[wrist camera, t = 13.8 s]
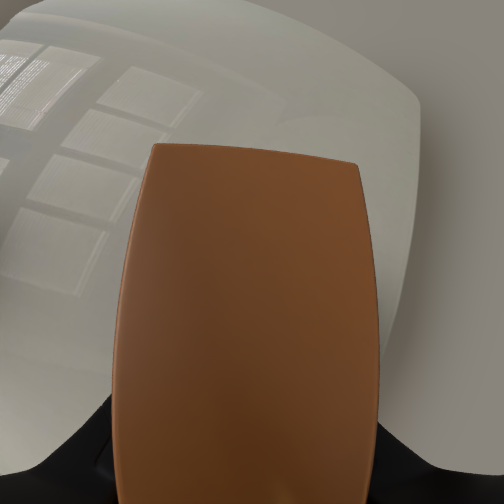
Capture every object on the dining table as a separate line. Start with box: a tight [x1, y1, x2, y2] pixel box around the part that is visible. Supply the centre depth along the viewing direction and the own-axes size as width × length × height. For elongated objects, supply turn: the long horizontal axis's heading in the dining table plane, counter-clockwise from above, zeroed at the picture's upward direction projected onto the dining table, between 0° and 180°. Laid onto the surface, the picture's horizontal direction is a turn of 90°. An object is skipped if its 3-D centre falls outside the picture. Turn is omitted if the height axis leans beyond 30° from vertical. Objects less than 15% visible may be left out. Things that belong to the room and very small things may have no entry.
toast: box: [112, 143, 380, 504], centre depth 8 cm, size 7×3×12 cm, turn 177°
